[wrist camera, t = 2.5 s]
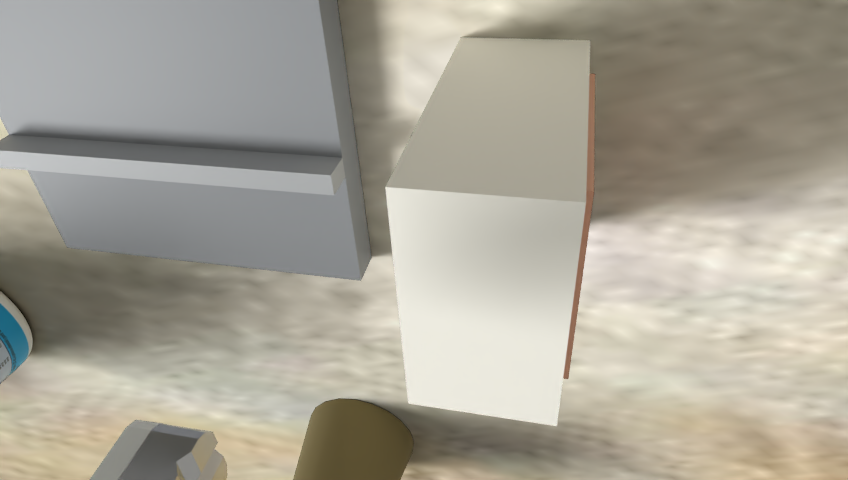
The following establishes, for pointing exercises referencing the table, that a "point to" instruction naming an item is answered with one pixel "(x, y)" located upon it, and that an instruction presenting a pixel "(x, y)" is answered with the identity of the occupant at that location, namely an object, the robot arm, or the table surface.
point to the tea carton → (495, 227)
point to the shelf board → (188, 129)
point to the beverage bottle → (12, 338)
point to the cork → (354, 443)
